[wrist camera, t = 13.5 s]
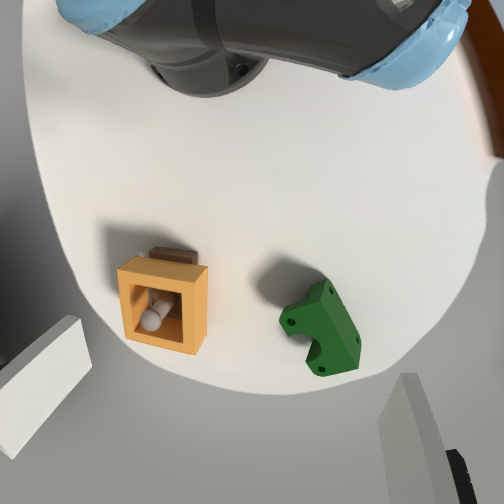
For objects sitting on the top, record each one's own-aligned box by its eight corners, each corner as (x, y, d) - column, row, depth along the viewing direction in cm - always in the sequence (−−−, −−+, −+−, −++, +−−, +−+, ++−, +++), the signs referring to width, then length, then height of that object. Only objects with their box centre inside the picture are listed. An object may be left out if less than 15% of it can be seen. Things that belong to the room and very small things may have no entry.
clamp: (300, 289, 43) (269, 301, 35) (337, 274, 40) (314, 285, 32) (328, 365, 41) (303, 392, 33) (366, 355, 38) (349, 384, 30)
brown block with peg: (155, 246, 39) (118, 273, 30) (197, 252, 39) (167, 282, 30) (161, 333, 44) (132, 371, 35) (197, 341, 43) (174, 382, 34)
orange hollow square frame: (136, 255, 38) (116, 269, 33) (207, 266, 37) (194, 282, 32) (141, 320, 41) (125, 338, 37) (206, 334, 40) (195, 355, 35)
